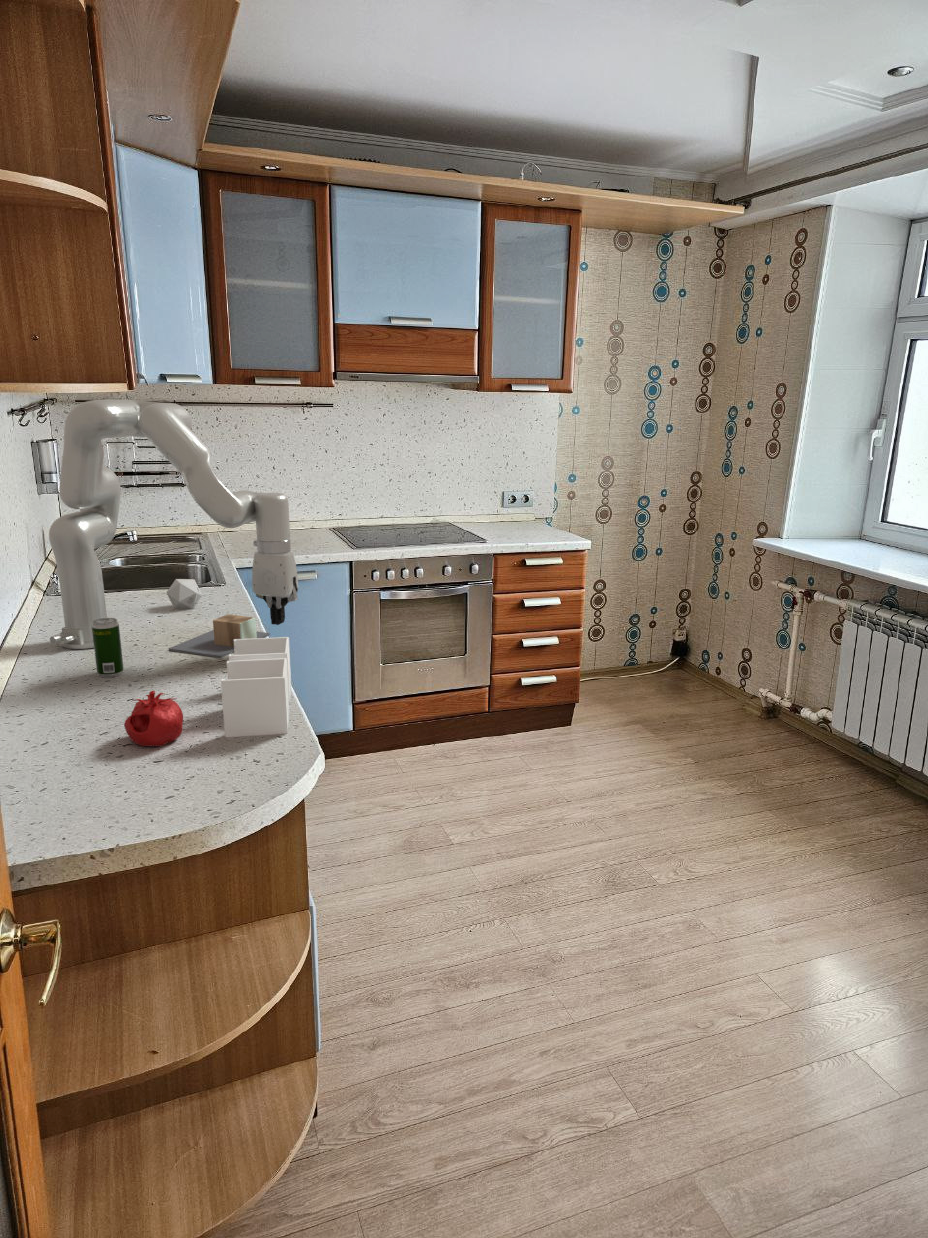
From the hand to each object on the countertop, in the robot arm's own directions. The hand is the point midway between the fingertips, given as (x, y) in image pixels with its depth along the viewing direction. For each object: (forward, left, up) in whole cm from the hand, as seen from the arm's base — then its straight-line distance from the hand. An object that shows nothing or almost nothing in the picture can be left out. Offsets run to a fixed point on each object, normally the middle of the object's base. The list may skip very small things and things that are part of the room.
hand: (278, 623), depth 191 cm
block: (0, +8, -3) cm, 9 cm away
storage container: (-33, -17, -7) cm, 38 cm away
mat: (0, +17, -7) cm, 18 cm away
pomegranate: (-52, -8, -7) cm, 53 cm away
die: (+24, +47, -7) cm, 53 cm away
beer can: (-28, +25, -7) cm, 38 cm away
